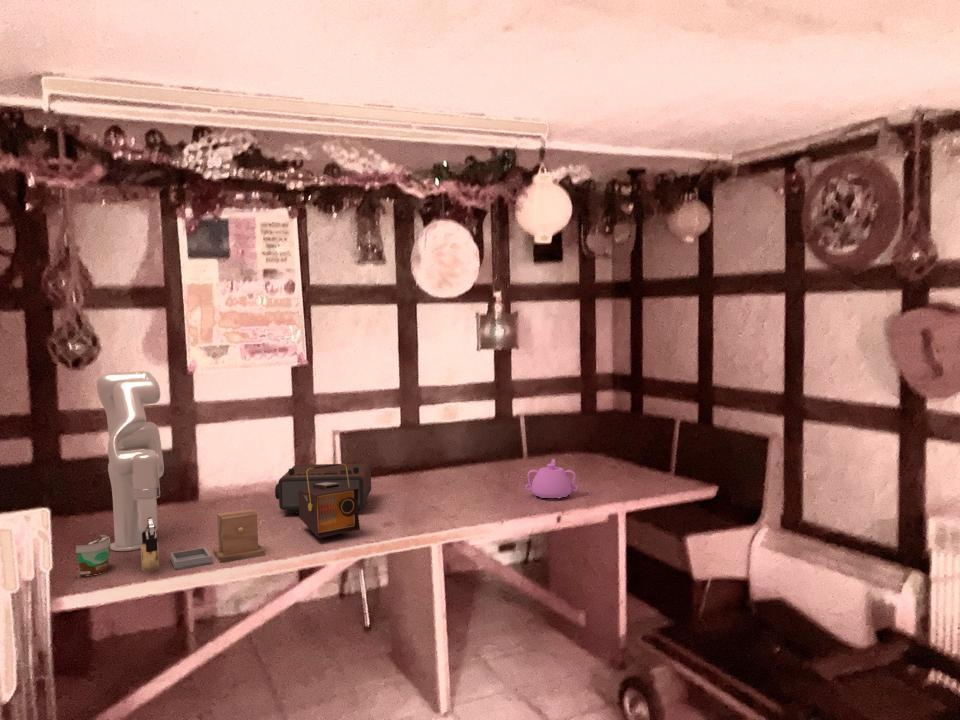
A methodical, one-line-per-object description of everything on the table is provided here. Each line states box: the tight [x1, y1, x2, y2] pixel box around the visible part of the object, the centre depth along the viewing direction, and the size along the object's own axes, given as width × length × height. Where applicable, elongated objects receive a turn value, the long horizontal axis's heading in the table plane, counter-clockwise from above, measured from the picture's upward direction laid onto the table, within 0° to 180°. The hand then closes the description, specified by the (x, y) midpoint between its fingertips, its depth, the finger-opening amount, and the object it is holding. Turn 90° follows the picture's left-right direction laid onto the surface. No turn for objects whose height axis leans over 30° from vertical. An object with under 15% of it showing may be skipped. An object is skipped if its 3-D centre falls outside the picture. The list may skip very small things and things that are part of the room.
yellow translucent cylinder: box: [140, 541, 160, 572], centre depth 242 cm, size 5×5×8 cm
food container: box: [75, 534, 112, 577], centre depth 241 cm, size 12×6×10 cm, turn 170°
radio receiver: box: [274, 462, 372, 513], centre depth 313 cm, size 35×27×18 cm
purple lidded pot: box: [525, 458, 579, 498], centre depth 326 cm, size 22×22×14 cm
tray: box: [169, 547, 213, 571], centre depth 248 cm, size 11×11×2 cm
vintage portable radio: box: [298, 463, 361, 539], centre depth 276 cm, size 16×23×25 cm
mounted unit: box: [212, 508, 266, 564], centre depth 255 cm, size 12×14×14 cm
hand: (149, 547), depth 241 cm, fingers open, 9 cm apart
